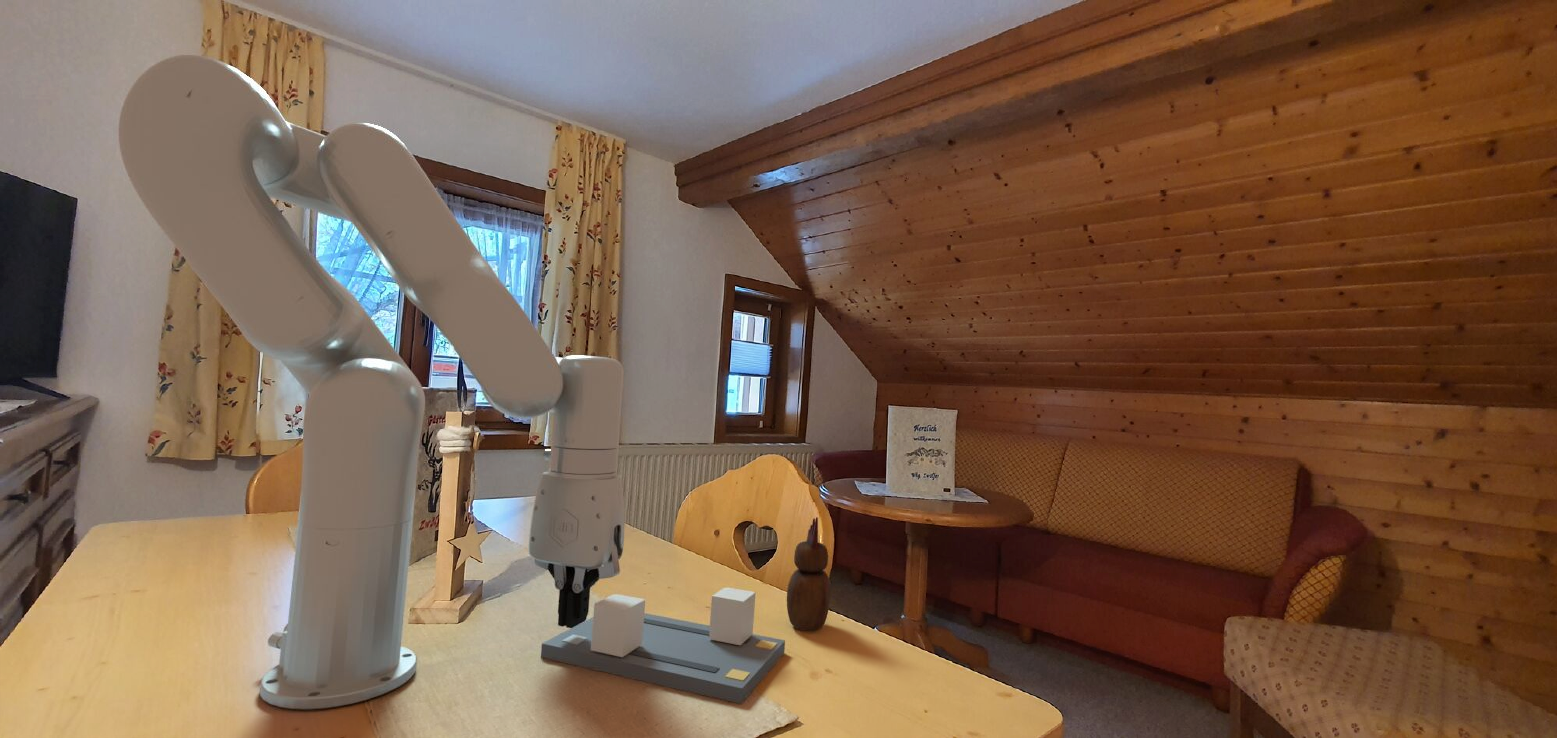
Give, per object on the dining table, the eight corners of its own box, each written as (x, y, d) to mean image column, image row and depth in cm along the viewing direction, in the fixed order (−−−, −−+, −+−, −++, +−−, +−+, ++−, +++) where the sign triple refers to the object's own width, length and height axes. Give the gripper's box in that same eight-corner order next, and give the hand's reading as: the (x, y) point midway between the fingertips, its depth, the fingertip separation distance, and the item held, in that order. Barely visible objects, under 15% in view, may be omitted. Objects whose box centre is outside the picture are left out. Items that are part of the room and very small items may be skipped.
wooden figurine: (824, 638, 81) (832, 521, 82) (781, 632, 82) (788, 516, 83) (831, 621, 88) (837, 512, 89) (790, 615, 89) (797, 508, 90)
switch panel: (540, 657, 70) (542, 642, 70) (611, 618, 83) (612, 606, 83) (741, 703, 62) (742, 687, 62) (784, 652, 76) (785, 639, 76)
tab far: (708, 639, 74) (711, 595, 74) (722, 628, 78) (725, 587, 78) (740, 645, 73) (743, 601, 73) (752, 633, 76) (755, 592, 77)
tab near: (590, 650, 69) (594, 603, 69) (611, 637, 72) (614, 593, 73) (622, 657, 67) (626, 609, 68) (641, 644, 71) (645, 599, 71)
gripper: (508, 459, 72) (495, 623, 71) (622, 471, 67) (610, 646, 66) (551, 454, 79) (539, 603, 78) (657, 465, 74) (646, 623, 73)
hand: (572, 623), depth 72 cm, fingers closed
